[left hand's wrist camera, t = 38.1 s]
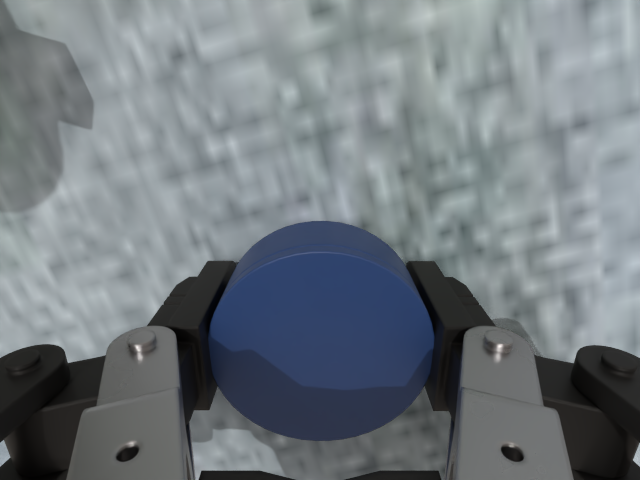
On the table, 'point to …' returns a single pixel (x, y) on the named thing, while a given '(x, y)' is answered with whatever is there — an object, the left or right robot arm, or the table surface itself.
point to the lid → (321, 333)
